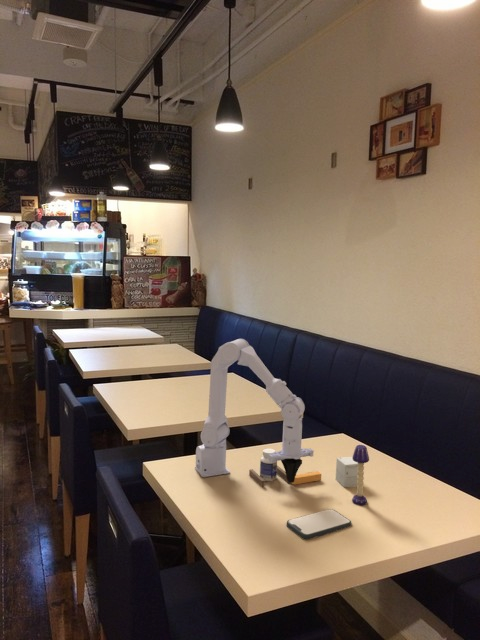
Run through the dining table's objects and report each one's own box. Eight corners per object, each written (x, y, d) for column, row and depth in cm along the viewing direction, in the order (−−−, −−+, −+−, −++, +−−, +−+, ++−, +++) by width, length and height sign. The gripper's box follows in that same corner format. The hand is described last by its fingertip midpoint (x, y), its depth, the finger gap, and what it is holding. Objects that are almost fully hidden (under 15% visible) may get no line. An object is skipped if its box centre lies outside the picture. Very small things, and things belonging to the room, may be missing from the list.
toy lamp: (363, 507, 145) (366, 450, 143) (347, 503, 147) (350, 446, 145) (369, 500, 149) (372, 445, 147) (353, 496, 151) (356, 442, 149)
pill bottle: (275, 482, 160) (276, 454, 159) (258, 480, 161) (259, 453, 160) (277, 475, 165) (278, 448, 164) (261, 473, 166) (262, 447, 165)
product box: (343, 487, 157) (344, 464, 156) (334, 479, 163) (336, 457, 162) (361, 485, 159) (363, 463, 158) (352, 477, 164) (353, 455, 164)
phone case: (331, 513, 142) (284, 526, 134) (331, 507, 142) (284, 520, 134) (353, 527, 135) (305, 542, 127) (353, 522, 134) (305, 536, 126)
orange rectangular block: (293, 484, 157) (293, 478, 157) (290, 482, 159) (290, 475, 159) (321, 479, 161) (321, 473, 161) (317, 477, 163) (318, 471, 163)
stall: (261, 487, 156) (261, 481, 155) (249, 475, 164) (249, 469, 164) (290, 482, 160) (290, 476, 159) (276, 471, 168) (277, 465, 168)
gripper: (277, 445, 149) (275, 490, 151) (319, 439, 155) (317, 482, 157) (266, 437, 156) (264, 480, 157) (307, 432, 161) (305, 473, 163)
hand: (290, 481), depth 157 cm, fingers closed
